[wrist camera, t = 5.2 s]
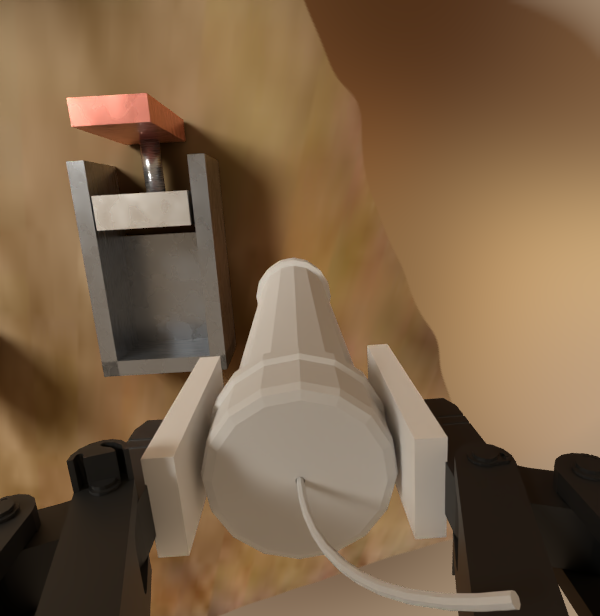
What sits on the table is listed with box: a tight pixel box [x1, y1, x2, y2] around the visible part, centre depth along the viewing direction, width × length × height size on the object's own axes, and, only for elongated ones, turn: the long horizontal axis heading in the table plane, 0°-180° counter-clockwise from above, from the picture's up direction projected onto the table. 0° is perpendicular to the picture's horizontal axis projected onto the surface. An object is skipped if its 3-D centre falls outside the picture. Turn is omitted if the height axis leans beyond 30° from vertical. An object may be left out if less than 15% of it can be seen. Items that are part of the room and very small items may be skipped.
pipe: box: [201, 258, 521, 612], centre depth 20 cm, size 6×6×30 cm
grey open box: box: [66, 153, 236, 377], centre depth 43 cm, size 20×12×7 cm, turn 3°
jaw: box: [67, 93, 195, 231], centre depth 39 cm, size 10×8×11 cm
